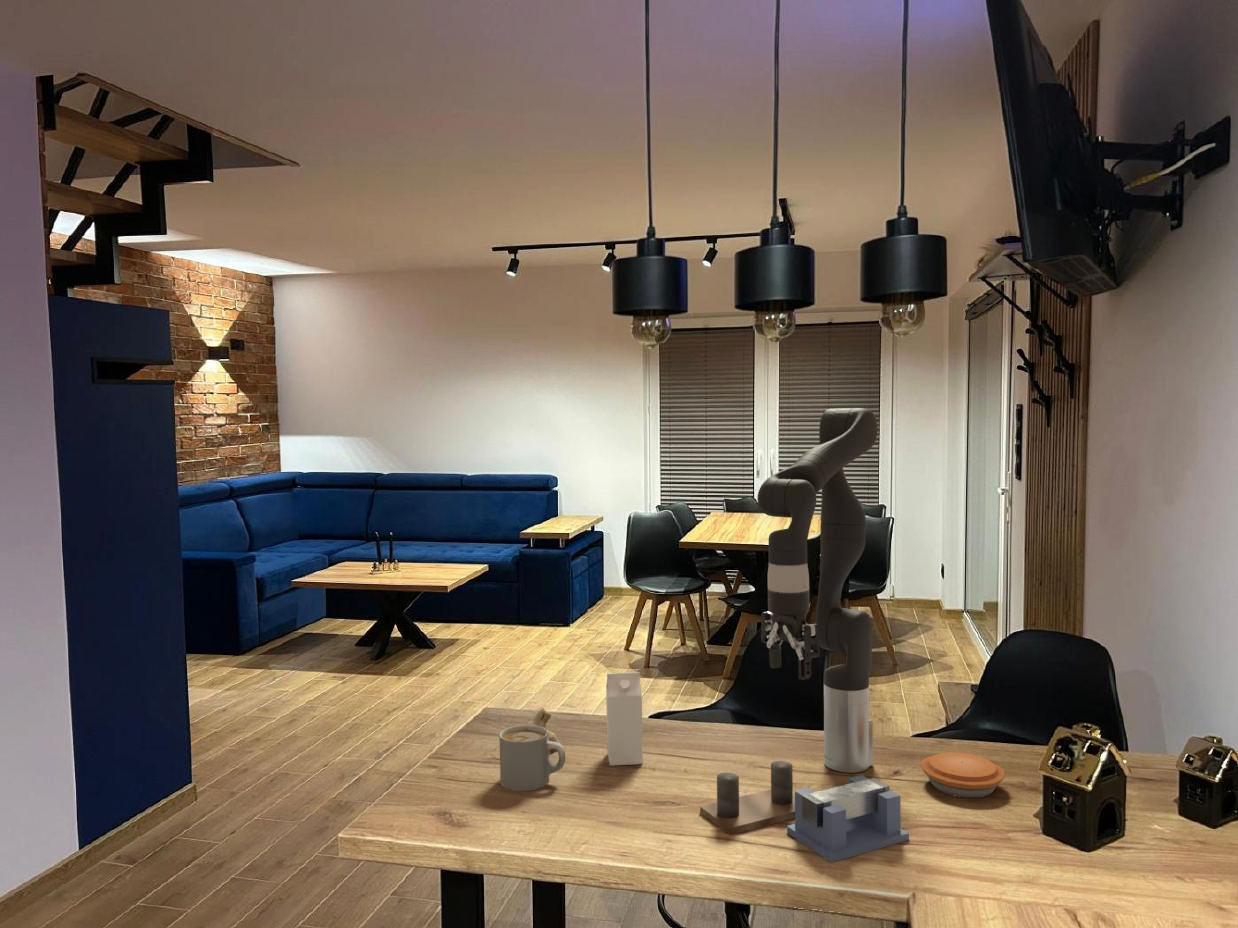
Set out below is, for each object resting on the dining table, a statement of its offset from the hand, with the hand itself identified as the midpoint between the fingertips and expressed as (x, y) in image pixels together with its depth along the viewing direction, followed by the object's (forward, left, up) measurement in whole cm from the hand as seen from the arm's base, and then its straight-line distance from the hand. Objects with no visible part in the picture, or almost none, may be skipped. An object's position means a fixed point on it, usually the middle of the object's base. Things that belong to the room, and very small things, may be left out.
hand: (789, 672), depth 163 cm
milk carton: (+16, -37, -26) cm, 48 cm away
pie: (-37, +7, -27) cm, 46 cm away
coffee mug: (+38, -35, -26) cm, 58 cm away
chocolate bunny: (+30, -50, -26) cm, 64 cm away
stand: (+6, -2, -26) cm, 27 cm away
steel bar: (-2, +13, -22) cm, 26 cm away
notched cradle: (-3, +13, -26) cm, 29 cm away
